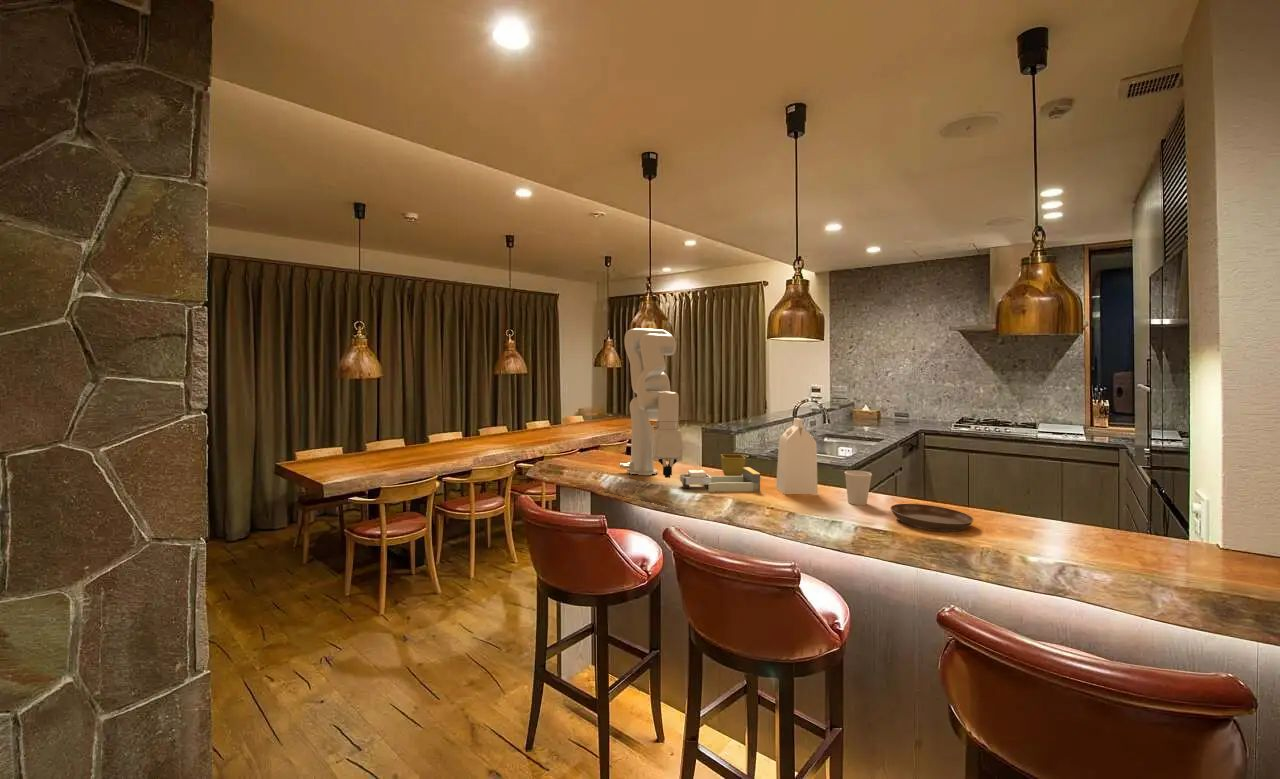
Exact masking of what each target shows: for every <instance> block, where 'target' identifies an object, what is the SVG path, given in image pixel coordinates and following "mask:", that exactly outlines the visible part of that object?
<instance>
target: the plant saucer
mask: <svg viewBox="0 0 1280 779" xmlns="http://www.w3.org/2000/svg"><path fill="white" fill-rule="evenodd" d="M890 511H891V512H892V514H893V515H894V517H895V518H897V520H898V521H900V522H901V523H903V524H905V525H907V524H908V526H910V525H911V527H914V528H918V529H922V528H923V530H928V529H929V531H935V530H936V532H937V531H938V532H959V530H960V531H963V530H965V529H966V528H968V527H969V526H970V525H971V524H972V523H973V522H974V517H972V516H971V515H970V514H967V513H965V512H962V511H959V510H956V509H951V508H948V507H941V506H936V505H931V504H921V503H899V504H894V505H891V506H890Z"/></svg>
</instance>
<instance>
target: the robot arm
mask: <svg viewBox="0 0 1280 779" xmlns="http://www.w3.org/2000/svg"><path fill="white" fill-rule="evenodd" d="M624 349H625V352H626V355H627V358H628V361H629V365H630V366H629V368H630V379H631V380H630V382H631V388H632V391H633V393H635V394H636V396H635V397H633V398H632V399H631V401H630V403H629V412H630V418H631V419H630V421H631V440H630V442H631V443H630V444H631V445H630V447H631V448H630V451H631V452H630V454H631V455H630V460H629V462H627V463H623V462H620V463H619V468H620V469H627V470H626V472H628V473H627V474H629V473H630V474H629V475H632V474H638V475H637V476H653V475H652V474H655V475H657V474H658V469H656V468H655V462H657V463H660V464H661V465H662V475H663V476H664V478H666V479H671V476H673V466H674V465H675V464H676V463H677V462H681V461H683V437H682V430H680V429H679V409H680V406H679V404H680V403H679V401H680V400H679V399H680V396H679V393H677V392H675V391H671V385H670V384H671V383H670V382H671V381H670V379H669V376H668V375H667V373H665V370H666V369H667V365H666V360H665V356H672V355H674V354H675V353H676V350H677V343H676V340H675V337H674V336H673V335H672V334H671V333H670V332H668V331H667V330H665V329H659V328H639V327H636V328H631V329H628V330H627V331H625V334H624ZM654 420H655V421H656V422H653V425H652V424H651V422H650V421H654ZM655 428H656V429H655ZM667 459H668V464H667V461H666V460H667ZM656 473H657V474H656Z"/></svg>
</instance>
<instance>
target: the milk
mask: <svg viewBox="0 0 1280 779" xmlns="http://www.w3.org/2000/svg"><path fill="white" fill-rule="evenodd" d="M817 444H818V443H817V441H816V440H815V438H814V437H813V436H812V435H811V434H810V433H809V432H808V431H807V430H806V429H805V428H804V424H803V419H802V418H799V417H794V418H793V422H792V425H791V426H790V427H788V428H786V430H785V431H784V432H783V434H781V435H780V437H779V439H778V452H777V453H778V454H777V467H776V480H775V481H776V484H775V488H776V487H777V488H778V490H779V492H781V491H782V492H783V493H784V494H815V495H814V496H818V491H819V490H818V454H817V453H818V451H817V450H818V449H817V448H818V447H817ZM777 488H776V489H777ZM782 492H781V493H782ZM783 493H782V494H783ZM784 494H783V495H784Z"/></svg>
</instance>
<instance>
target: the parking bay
mask: <svg viewBox="0 0 1280 779" xmlns="http://www.w3.org/2000/svg"><path fill="white" fill-rule="evenodd" d="M709 476H710V477H711V478H712V483H709V485H708V489H707V491H708V493H714V492H715V491H717V492H761V473H760V472H758V471H756V470H755V469H753V468H752V467H749V466H747V467H746V466H745V467H743V474H742V476H725V475H709ZM715 493H716V492H715Z"/></svg>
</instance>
